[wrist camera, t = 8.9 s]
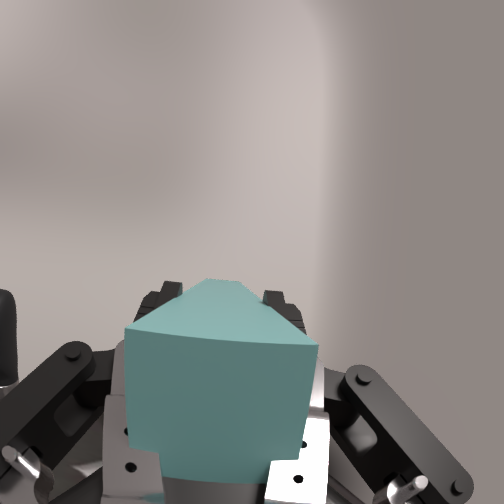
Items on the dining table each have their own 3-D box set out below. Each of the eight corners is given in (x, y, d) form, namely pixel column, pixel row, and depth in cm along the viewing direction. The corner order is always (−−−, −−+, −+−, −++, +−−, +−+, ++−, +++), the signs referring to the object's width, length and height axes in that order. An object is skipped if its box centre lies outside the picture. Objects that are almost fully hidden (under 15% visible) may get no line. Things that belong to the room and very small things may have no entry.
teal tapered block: (292, 486, 5) (318, 344, 5) (133, 475, 5) (124, 328, 5) (236, 313, 32) (239, 281, 32) (203, 310, 31) (206, 278, 32)
